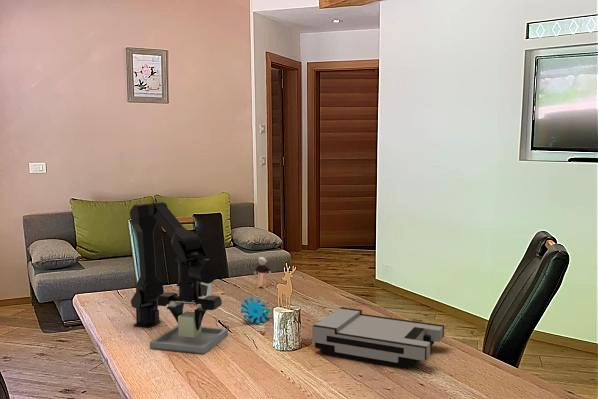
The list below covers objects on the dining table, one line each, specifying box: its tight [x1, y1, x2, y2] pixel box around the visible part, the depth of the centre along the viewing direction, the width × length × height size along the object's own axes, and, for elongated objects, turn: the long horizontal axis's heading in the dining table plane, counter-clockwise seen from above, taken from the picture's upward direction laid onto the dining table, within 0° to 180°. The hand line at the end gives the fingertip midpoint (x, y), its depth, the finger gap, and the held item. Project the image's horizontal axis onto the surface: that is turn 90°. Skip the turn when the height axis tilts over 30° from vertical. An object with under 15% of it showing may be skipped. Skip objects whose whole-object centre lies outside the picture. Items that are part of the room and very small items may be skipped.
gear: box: [240, 296, 272, 325], centre depth 194 cm, size 11×6×10 cm
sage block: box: [177, 310, 202, 337], centre depth 173 cm, size 5×5×6 cm
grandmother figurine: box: [253, 256, 272, 289], centre depth 237 cm, size 8×4×13 cm, turn 80°
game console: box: [311, 307, 445, 370], centre depth 165 cm, size 21×32×8 cm, turn 63°
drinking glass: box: [199, 282, 213, 299], centre depth 214 cm, size 7×7×10 cm
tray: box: [149, 324, 229, 356], centre depth 173 cm, size 17×17×2 cm
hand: (189, 329), depth 173 cm, fingers closed on sage block, 5 cm apart
